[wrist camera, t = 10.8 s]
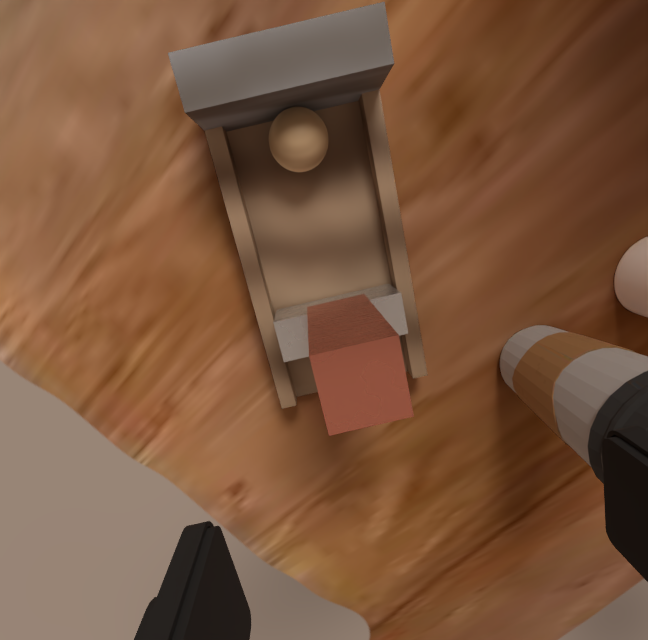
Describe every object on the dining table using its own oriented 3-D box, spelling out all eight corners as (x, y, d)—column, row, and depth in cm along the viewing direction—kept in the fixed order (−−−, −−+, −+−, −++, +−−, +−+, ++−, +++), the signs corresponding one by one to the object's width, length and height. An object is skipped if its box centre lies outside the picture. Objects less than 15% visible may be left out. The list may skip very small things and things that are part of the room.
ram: (275, 303, 30) (252, 368, 17) (387, 277, 30) (455, 322, 17) (287, 350, 31) (275, 447, 18) (396, 325, 31) (467, 404, 18)
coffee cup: (587, 379, 35) (787, 490, 21) (501, 415, 36) (637, 548, 21) (564, 296, 33) (768, 354, 19) (473, 335, 34) (602, 422, 19)
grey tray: (201, 95, 28) (167, 52, 21) (364, 56, 28) (384, 1, 21) (283, 393, 34) (278, 438, 27) (417, 362, 34) (447, 399, 27)
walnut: (268, 136, 28) (257, 100, 24) (322, 123, 28) (319, 85, 24) (280, 187, 28) (271, 160, 24) (334, 175, 28) (334, 145, 24)
